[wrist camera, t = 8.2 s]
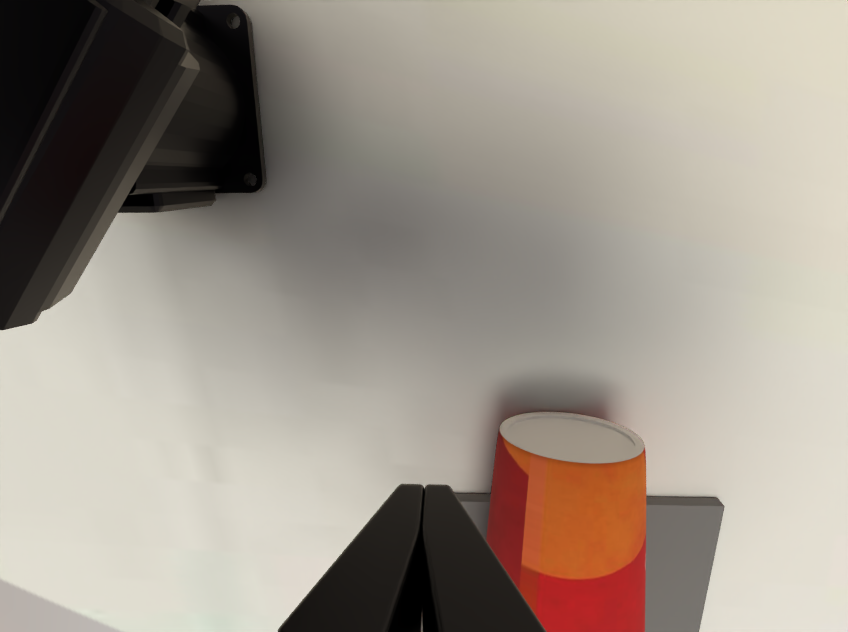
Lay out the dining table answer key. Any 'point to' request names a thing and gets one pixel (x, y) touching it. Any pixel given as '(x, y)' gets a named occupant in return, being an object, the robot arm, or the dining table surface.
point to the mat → (661, 556)
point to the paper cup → (572, 519)
